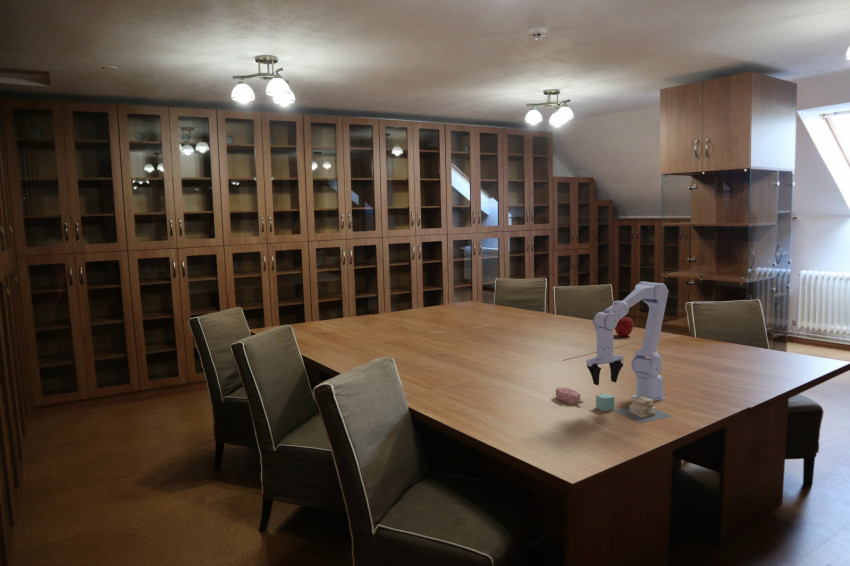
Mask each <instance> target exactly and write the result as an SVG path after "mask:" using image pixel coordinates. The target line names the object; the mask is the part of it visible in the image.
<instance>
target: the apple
mask: <svg viewBox="0 0 850 566" xmlns="http://www.w3.org/2000/svg"><path fill="white" fill-rule="evenodd" d="M634 325H635V324H634V321H633V319H632V318H631V317H627V316H624V317H622V318H621V319H620V320H619V322H618V323H617V326H616V327H615V329H614V331H615V332H616V334H617V335H618V336H619V337H627V336H629V335H630V334H631V333H632V331H633V329H634Z"/></svg>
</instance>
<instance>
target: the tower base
mask: <svg viewBox="0 0 850 566" xmlns="http://www.w3.org/2000/svg"><path fill="white" fill-rule="evenodd" d="M629 407H630V413H633V414H635V415H637V416H640V417H646V416H651V415H655V409H656V407H654V406H653V407H651V408H648V409H644V410H643V409H640V408H636V407H633V406H632V404H630V405H629Z"/></svg>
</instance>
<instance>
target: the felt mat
mask: <svg viewBox="0 0 850 566" xmlns="http://www.w3.org/2000/svg"><path fill="white" fill-rule="evenodd" d="M612 411H613V412H615V413H617V414H620V415H621V416H624V417H626V418H628V419H631V420H633V421H634V422H637V423H639V424H641V423H646V422H648V423H649V422H652V421H656V420H663V419H668V418H672V417H673V415H671V414H668V413H665V412H663V411H661V410H659V409H656V408H655V415H651V416H646V417H640V416H637V415H635V414H633V413H630V406H628V407H625V408H619V409H614V410H612Z"/></svg>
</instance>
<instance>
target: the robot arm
mask: <svg viewBox="0 0 850 566" xmlns="http://www.w3.org/2000/svg"><path fill="white" fill-rule="evenodd" d="M669 291H670V290H669V289H668V287H667V285H666V284H665V283H663V282H649V281H640V282H638V284H636V285H635V287H634V289H633V290H632V291H631V292H630V293H629V294H628V295H627V296H626V297H625V298H623V300H615V301H613V304H611V305H610V306H609V307H607V308H605V309H604V310H603V311H599V312H597V313H596V314H595V315H594V317H593V320H592V324H593V327H595V329H594V330H595V333H596V355H595V357H593V358H590V359H586V364H585V365H586V367H587V369H588V371H589V374H590V375H591V378H592V383H593V385H594V386H599V385H600V375H601V370H602V367H599V365H604V364H608V365H609V369H610V382H612V383H617V381H618V377H619V374H620V372H621V370H622V368H623V367H624V363H623V362H624V355H619V354H617V355H614V330H615V327H616V326H617V323H618V322H619V320H620V319H621V318H622V317H626V315H627V314H628V313H629V310H630V308H631V307H633V306H634V305H636V304H637V303H639V302H640V301H643V302H644V303H645V304H647V306H648V315H647V319H646V323H645V330H644V333H643V340H642V346H641V348H640V349H639V350H637V351H636V352H635V353H634V356H633V358H632V360H631V365H630V366H631V367H630V368H631V369H632V371H633V372H634V375H635V391H636V392H635V394H634V395H630V397H631V398H632V399H634V398H637V397H641V396H642V397H645V398H649V399H652V400H653V402H654V401H655V402H656V401H661V400H665V399H666V397H664V385H665V384H664V379H663V377H662V376H661V373H662V369H663V365H662V361H663V358H662V356H661V355H660V354H659V353H658V346H659V341H660V336H661V331H662V327H663V323H664V322H663V320H664V316H665V310H666V306H667V302H668V295H669Z"/></svg>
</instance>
